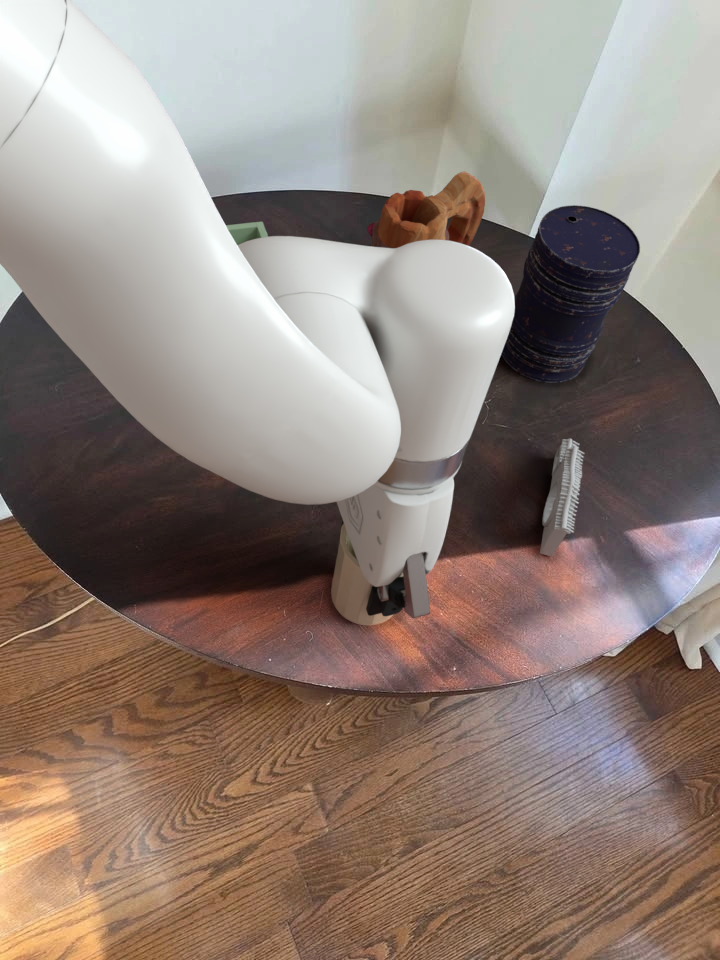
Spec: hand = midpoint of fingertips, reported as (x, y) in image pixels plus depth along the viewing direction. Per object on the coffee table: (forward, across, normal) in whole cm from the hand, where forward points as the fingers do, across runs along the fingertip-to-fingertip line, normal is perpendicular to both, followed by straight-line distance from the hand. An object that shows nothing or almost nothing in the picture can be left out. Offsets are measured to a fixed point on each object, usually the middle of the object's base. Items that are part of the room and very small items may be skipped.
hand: (372, 570), depth 62 cm
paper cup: (+4, 0, 0) cm, 4 cm away
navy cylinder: (+4, -23, +28) cm, 36 cm away
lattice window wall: (+4, -4, +20) cm, 21 cm away
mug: (+4, -32, +16) cm, 36 cm away
